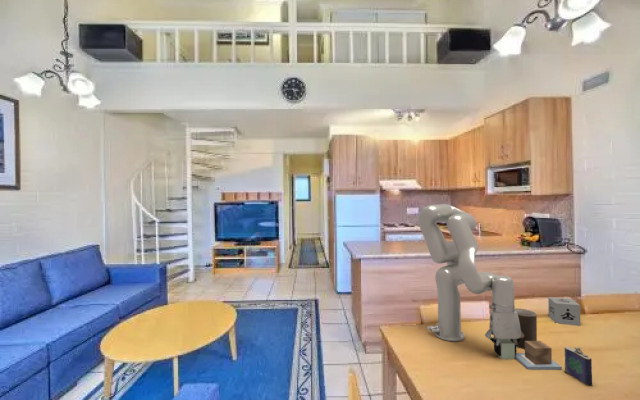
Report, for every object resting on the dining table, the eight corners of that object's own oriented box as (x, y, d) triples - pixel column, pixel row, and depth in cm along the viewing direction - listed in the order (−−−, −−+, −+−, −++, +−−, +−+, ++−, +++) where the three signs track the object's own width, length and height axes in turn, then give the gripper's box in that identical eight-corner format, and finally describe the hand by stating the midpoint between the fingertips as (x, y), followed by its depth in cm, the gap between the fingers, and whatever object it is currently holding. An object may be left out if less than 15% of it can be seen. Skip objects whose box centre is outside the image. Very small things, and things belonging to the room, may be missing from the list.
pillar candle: (528, 351, 129) (528, 314, 129) (504, 341, 138) (504, 307, 137) (541, 346, 133) (542, 310, 133) (518, 337, 142) (518, 303, 142)
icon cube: (548, 316, 165) (548, 296, 165) (571, 318, 162) (571, 298, 162) (555, 323, 156) (555, 303, 156) (580, 326, 152) (580, 305, 152)
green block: (501, 359, 124) (501, 343, 123) (494, 352, 129) (494, 338, 128) (514, 359, 123) (514, 343, 123) (507, 352, 128) (507, 337, 128)
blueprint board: (527, 369, 116) (527, 366, 116) (512, 355, 126) (512, 352, 126) (561, 369, 115) (561, 366, 115) (543, 355, 125) (543, 353, 125)
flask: (562, 371, 114) (562, 341, 114) (570, 370, 115) (569, 341, 115) (587, 386, 105) (587, 354, 105) (595, 385, 106) (595, 353, 105)
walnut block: (535, 364, 117) (534, 348, 117) (524, 356, 123) (524, 340, 123) (551, 364, 117) (551, 348, 117) (540, 356, 123) (540, 340, 123)
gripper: (486, 311, 122) (488, 359, 122) (531, 310, 122) (533, 358, 121) (477, 305, 130) (478, 350, 129) (519, 304, 129) (521, 349, 129)
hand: (505, 353), depth 125 cm, fingers closed on green block, 5 cm apart
